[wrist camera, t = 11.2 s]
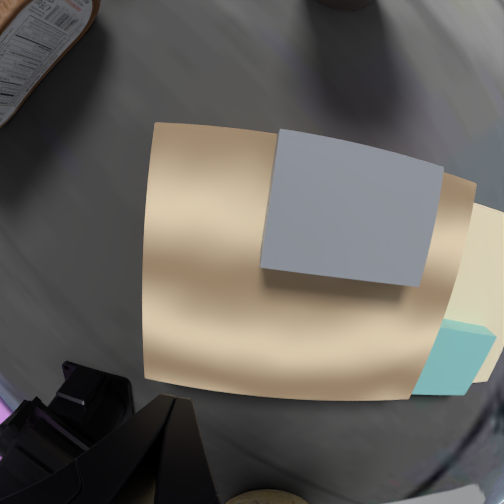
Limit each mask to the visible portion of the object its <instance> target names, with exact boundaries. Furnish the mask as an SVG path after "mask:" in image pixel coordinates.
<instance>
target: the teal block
mask: <svg viewBox="0 0 504 504" xmlns="http://www.w3.org/2000/svg"><path fill="white" fill-rule="evenodd" d="M496 338H497V336H495V335H494V334H493V333H492V332H491V331H489V330H488V329H487V328H486V327H485V326H480V325H474V324H469V323H464V322H459V321H454V320H449V319H444V318H443V321H442V323H441V326H440V329H439V332H438V334H437V337H436V339H435V342H434V344H433V347H432V349H431V352H430V354H429V357H428V359H427V361H426V364H425V366H424V368H423V370H422V373H421V375H420V377H419V379H418V381H417V383H416V385H415V388H414V390H413V392H412V394H419V395H465V393H466V392H467V390H468V388H469V387H470V385H471V383H472V382H473V380H474V378H475V377H476V375H477V373H478V372H479V370H480V368H481V366H482V364H483V363H484V361H485V359H486V357H487V355H488V353H489V351H490V350H491V348H492V346H493V344H494V342H495V340H496Z"/></svg>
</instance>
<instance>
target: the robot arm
mask: <svg viewBox="0 0 504 504" xmlns="http://www.w3.org/2000/svg"><path fill="white" fill-rule="evenodd" d="M62 369H63V373H64V377H65V382H64V383H63V384H62V386H61V387H60V388H59V390H58V391H57V392H56V396H55V397H54V399H53V400H52V401H51V403H50V404H49V405H48V407H47V406H46V405H44V404H43V403H42V401H41V400H40V399H39V398H38V397H37V396H36V397H35V398H34V400H33V401H30V400H29V401H27V400H24V401H23V402H22V403H21V404H20V406H19V407H18V408H17V409H16V410H15V411H14V412H13V413H12V414H11V415H10V416H9V417H8V418H7V419H5V420H4V421H3V422H2V423H1V424H0V457H2V459H1V460H0V504H222V502H221V499H220V496H218V491H217V487H216V484H215V481H214V478H213V475H212V471H211V468H210V464H209V461H208V458H207V454H206V451H205V447H204V443H203V440H202V436H201V432H200V428H199V425H198V421H197V417H196V413H195V409H194V405H193V401H192V399H190V398H184V397H177V398H176V397H175V396H173V395H168V394H160V395H159V396H157V397H156V398H155V399H154V400H152V401H151V402H150V403H149V404H147V405H146V406H145V407H144V408H142V409H141V410H140V411H138V412H137V413H136V414H135V415H133V409H132V401H131V393H130V384H129V381H128V380H127V379H126V378H124V377H121V376H117V375H113V374H110V373H106V372H102V371H99V370H95V369H92V368H88V367H85V366H82V365H78V364H75V363H72V362H69V361H65V362H64V363H63V364H62ZM122 382H123V383H124V384H123V383H122Z"/></svg>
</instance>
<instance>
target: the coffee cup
mask: <svg viewBox="0 0 504 504" xmlns="http://www.w3.org/2000/svg"><path fill="white" fill-rule="evenodd" d="M317 1H318V2H320V3H322V4H324V5H327V6H329V7H331V8H336V9H340V10H357V9H360V8H364V7H365V6H366V5H368V4H369V3H370V2H372V1H373V0H317Z"/></svg>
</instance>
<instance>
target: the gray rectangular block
mask: <svg viewBox="0 0 504 504" xmlns="http://www.w3.org/2000/svg"><path fill="white" fill-rule="evenodd" d="M443 172H444V167H442V166H439V165H435V164H432V163H429V162H426V161H422V160H419V159H416V158H412V157H409V156H405V155H402V154H398V153H394V152H391V151H387V150H383V149H379V148H375V147H371V146H367V145H362V144H358V143H354V142H349V141H345V140H340V139H335V138H330V137H325V136H320V135H315V134H309V133H304V132H298V131H292V130H286V129H279V131H278V133H277V137H276V144H275V151H274V158H273V165H272V172H271V180H270V187H269V194H268V201H267V208H266V214H265V221H264V228H263V235H262V242H261V249H260V268H267V269H274V270H282V271H290V272H298V273H306V274H314V275H322V276H330V277H338V278H346V279H354V280H362V281H371V282H379V283H388V284H396V285H405V286H414V287H419V286H420V282H421V278H422V275H423V271H424V267H425V264H426V260H427V256H428V252H429V247H430V243H431V239H432V234H433V230H434V225H435V220H436V215H437V210H438V204H439V198H440V192H441V186H442V180H443Z"/></svg>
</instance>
